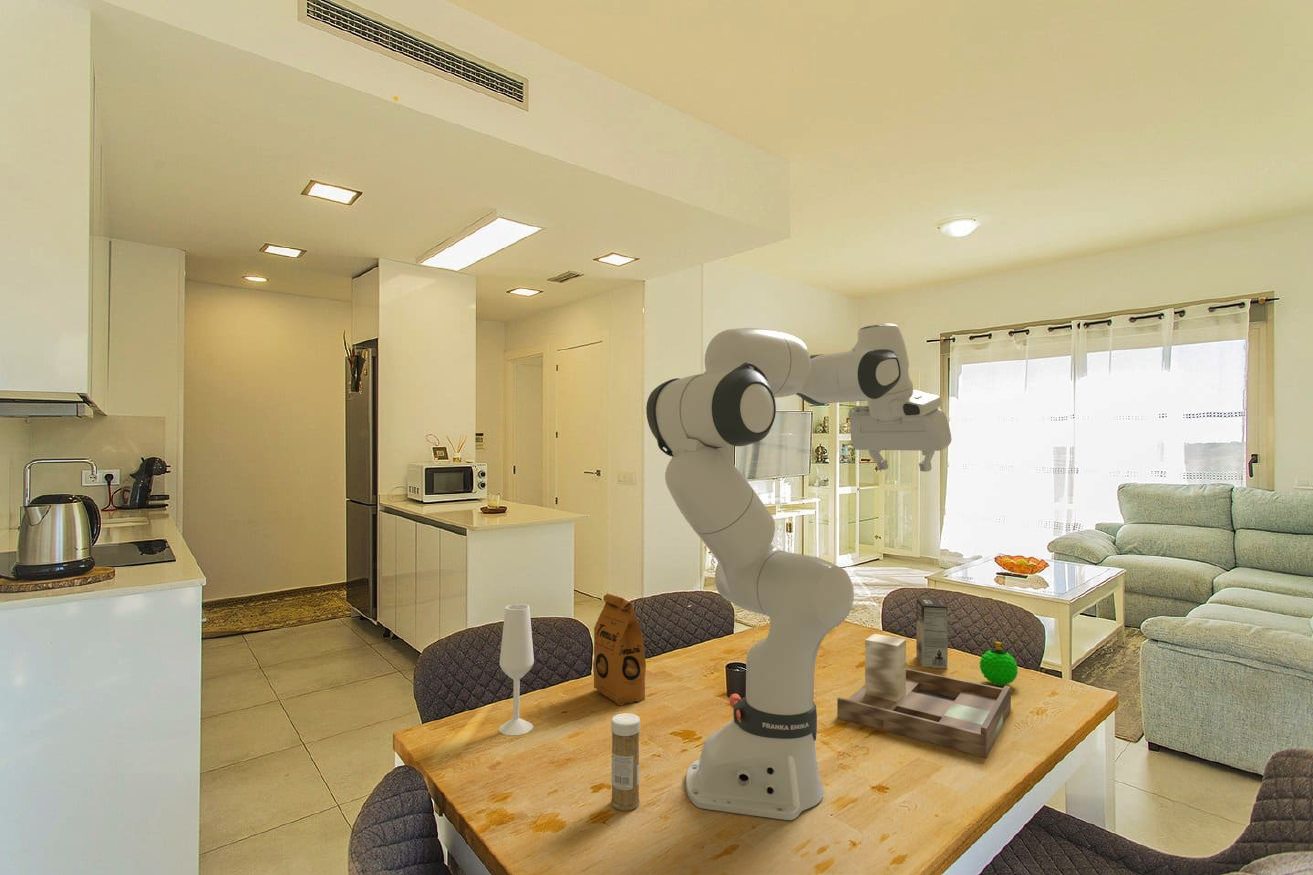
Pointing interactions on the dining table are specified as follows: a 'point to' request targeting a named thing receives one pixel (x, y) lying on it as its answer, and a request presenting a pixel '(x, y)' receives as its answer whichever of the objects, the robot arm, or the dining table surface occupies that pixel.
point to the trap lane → (935, 711)
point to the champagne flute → (516, 659)
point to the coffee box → (932, 632)
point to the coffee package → (619, 652)
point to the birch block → (885, 667)
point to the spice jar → (625, 761)
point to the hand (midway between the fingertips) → (904, 469)
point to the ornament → (998, 666)
